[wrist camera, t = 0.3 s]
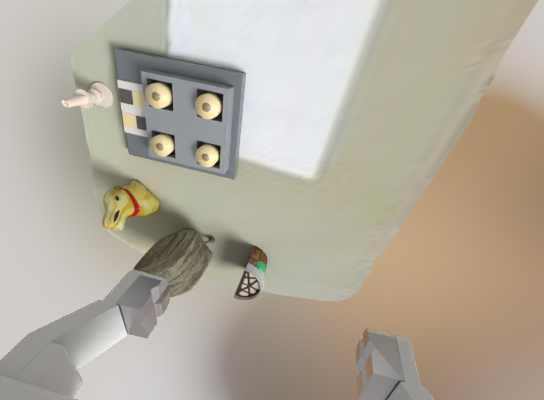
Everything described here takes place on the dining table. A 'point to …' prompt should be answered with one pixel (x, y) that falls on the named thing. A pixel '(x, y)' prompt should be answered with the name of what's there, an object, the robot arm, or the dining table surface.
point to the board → (187, 69)
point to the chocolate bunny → (127, 204)
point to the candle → (91, 97)
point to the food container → (252, 276)
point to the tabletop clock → (178, 260)
